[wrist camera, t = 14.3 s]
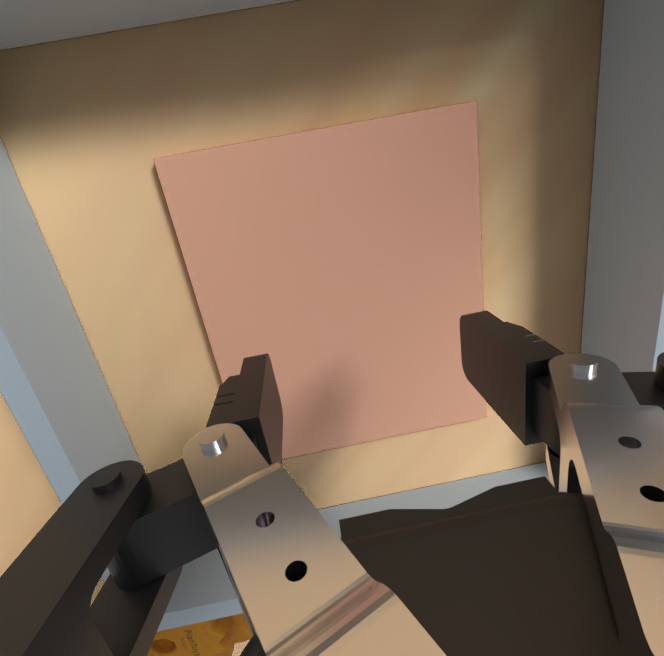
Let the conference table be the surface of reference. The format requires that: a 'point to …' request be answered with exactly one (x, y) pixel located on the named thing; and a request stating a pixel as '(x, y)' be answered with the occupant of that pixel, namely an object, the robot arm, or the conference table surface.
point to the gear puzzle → (202, 638)
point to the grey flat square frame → (210, 574)
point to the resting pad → (341, 269)
